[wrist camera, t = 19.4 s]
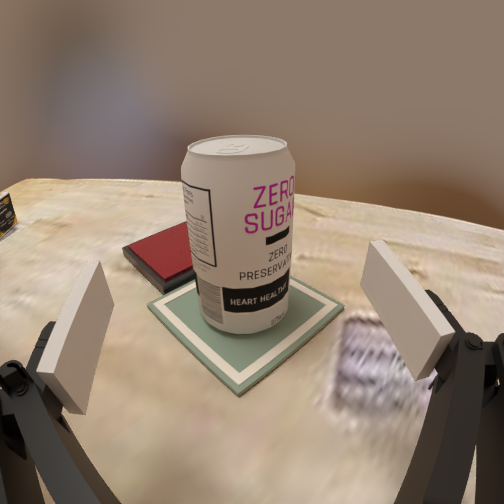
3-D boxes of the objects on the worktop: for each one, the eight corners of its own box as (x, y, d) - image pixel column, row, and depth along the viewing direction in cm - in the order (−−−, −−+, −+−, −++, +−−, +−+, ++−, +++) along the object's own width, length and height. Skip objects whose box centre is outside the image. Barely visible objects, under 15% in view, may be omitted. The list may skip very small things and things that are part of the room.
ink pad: (124, 255, 38) (121, 245, 37) (192, 226, 44) (191, 217, 43) (164, 296, 31) (162, 284, 30) (243, 255, 37) (243, 244, 37)
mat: (147, 307, 29) (146, 303, 29) (247, 256, 37) (247, 251, 37) (238, 396, 21) (237, 392, 21) (343, 309, 29) (344, 304, 28)
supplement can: (219, 275, 33) (208, 133, 25) (295, 288, 31) (304, 136, 23) (185, 327, 27) (155, 156, 19) (276, 348, 24) (282, 161, 16)
